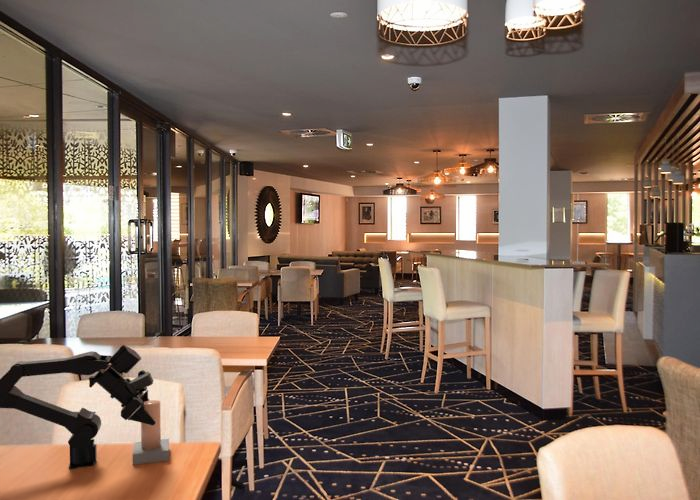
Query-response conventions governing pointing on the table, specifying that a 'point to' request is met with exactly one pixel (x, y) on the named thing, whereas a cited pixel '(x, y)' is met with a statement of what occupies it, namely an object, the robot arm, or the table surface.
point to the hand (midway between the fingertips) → (155, 419)
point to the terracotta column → (151, 427)
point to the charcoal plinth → (151, 453)
